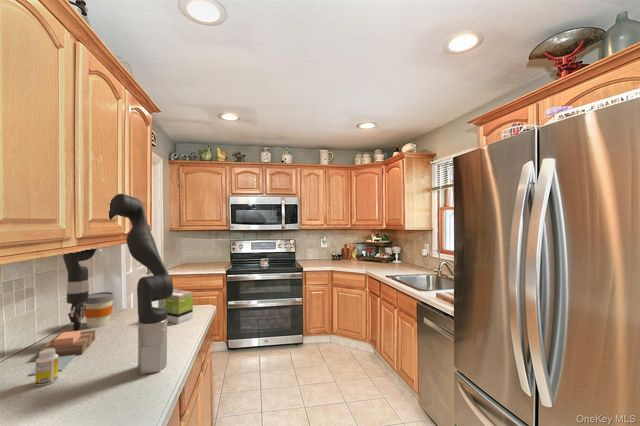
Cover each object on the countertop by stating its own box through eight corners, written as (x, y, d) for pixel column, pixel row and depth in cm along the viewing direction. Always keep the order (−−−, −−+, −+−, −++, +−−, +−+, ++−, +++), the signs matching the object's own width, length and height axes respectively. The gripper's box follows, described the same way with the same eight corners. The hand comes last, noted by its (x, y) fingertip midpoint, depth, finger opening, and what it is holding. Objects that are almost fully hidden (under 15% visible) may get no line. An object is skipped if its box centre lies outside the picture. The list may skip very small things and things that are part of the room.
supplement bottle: (52, 376, 102) (53, 346, 102) (61, 379, 100) (62, 349, 100) (31, 384, 97) (32, 352, 97) (40, 388, 95) (41, 356, 95)
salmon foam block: (73, 343, 119) (73, 337, 119) (54, 346, 117) (54, 339, 117) (80, 336, 126) (80, 330, 126) (62, 338, 124) (63, 332, 124)
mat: (61, 371, 106) (61, 369, 106) (28, 375, 102) (28, 374, 102) (75, 355, 118) (75, 354, 118) (46, 359, 114) (46, 358, 114)
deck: (81, 354, 118) (82, 344, 118) (40, 360, 113) (40, 349, 114) (94, 339, 133) (95, 330, 133) (58, 343, 128) (58, 334, 128)
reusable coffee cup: (85, 322, 154) (86, 293, 155) (114, 318, 160) (115, 290, 161) (79, 330, 143) (80, 299, 144) (111, 326, 149) (112, 296, 150)
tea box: (157, 320, 158) (157, 292, 158) (173, 315, 167) (173, 288, 168) (178, 324, 152) (178, 295, 152) (193, 318, 161) (193, 291, 162)
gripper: (82, 293, 126) (82, 334, 126) (93, 286, 138) (92, 324, 138) (60, 295, 123) (59, 337, 123) (73, 288, 136) (72, 326, 135)
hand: (77, 330), depth 131 cm, fingers closed
